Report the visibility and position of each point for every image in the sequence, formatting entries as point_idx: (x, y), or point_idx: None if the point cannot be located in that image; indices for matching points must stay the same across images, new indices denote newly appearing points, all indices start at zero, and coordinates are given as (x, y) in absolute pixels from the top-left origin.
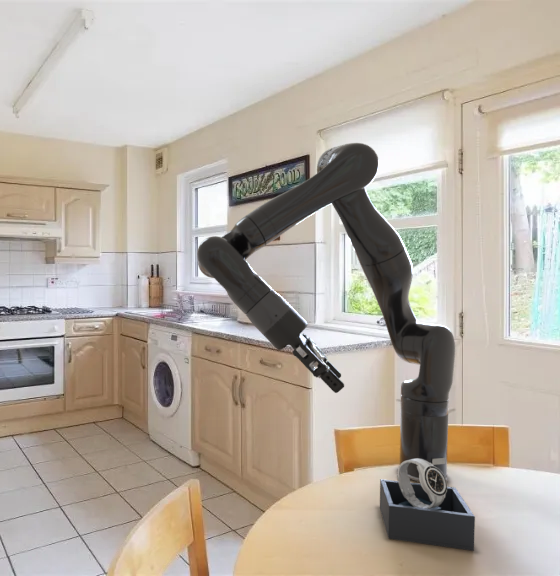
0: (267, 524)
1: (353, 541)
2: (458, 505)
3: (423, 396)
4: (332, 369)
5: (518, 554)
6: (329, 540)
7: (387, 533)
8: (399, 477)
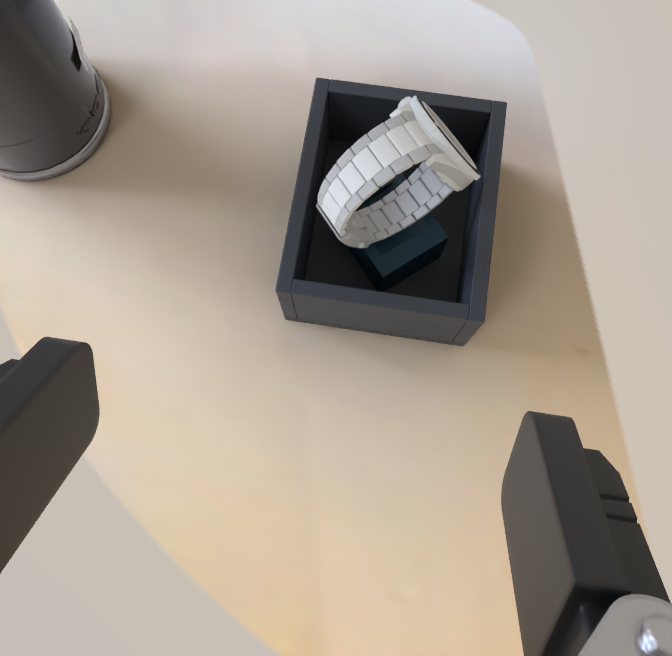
0: None
1: (494, 450)
2: None
3: None
4: (35, 427)
5: (478, 66)
6: (502, 522)
7: (447, 342)
8: (351, 234)
